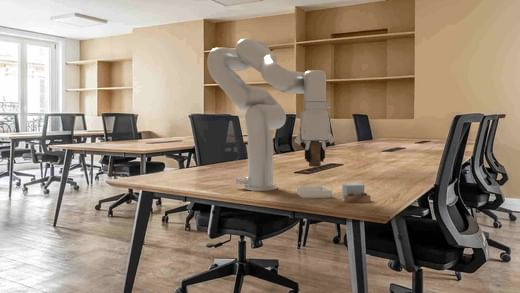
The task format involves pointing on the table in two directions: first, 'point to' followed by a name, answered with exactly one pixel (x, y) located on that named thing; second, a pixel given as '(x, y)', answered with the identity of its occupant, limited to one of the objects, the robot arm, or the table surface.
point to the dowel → (315, 154)
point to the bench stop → (357, 198)
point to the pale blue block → (352, 189)
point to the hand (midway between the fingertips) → (314, 160)
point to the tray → (314, 192)
